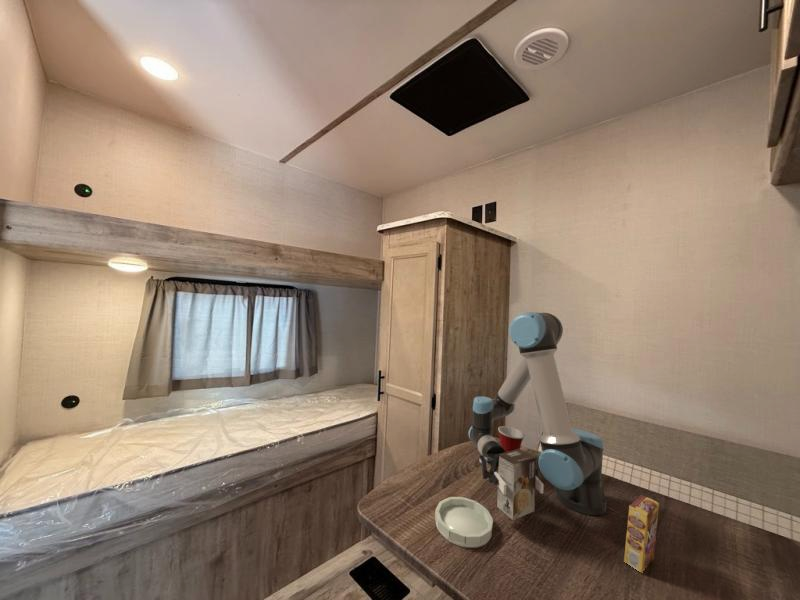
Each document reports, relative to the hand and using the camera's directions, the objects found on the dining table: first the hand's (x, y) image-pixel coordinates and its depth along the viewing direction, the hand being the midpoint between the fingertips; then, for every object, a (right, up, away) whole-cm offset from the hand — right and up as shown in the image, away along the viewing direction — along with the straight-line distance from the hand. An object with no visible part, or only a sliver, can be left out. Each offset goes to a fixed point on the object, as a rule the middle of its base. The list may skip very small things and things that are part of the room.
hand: (523, 489), depth 86 cm
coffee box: (-1, -9, +4) cm, 10 cm away
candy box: (+27, -15, -7) cm, 32 cm away
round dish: (-17, -12, +2) cm, 21 cm away
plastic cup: (+11, -14, +41) cm, 45 cm away
